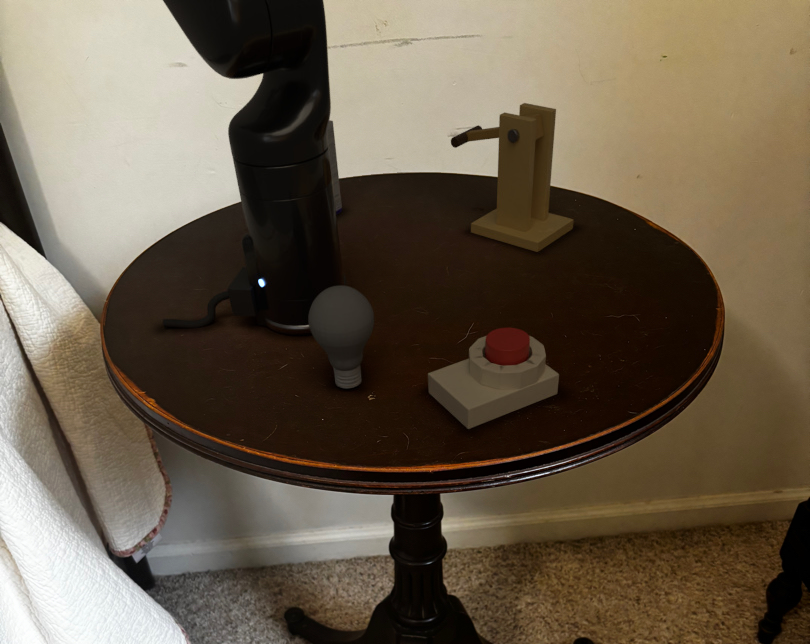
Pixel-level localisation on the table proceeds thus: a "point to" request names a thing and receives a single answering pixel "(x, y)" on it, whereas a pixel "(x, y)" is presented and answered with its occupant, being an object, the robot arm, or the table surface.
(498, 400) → the block
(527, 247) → the stand
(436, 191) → the table surface
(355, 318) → the light bulb
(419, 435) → the table surface
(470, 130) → the lever
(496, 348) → the bell button
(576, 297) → the table surface
